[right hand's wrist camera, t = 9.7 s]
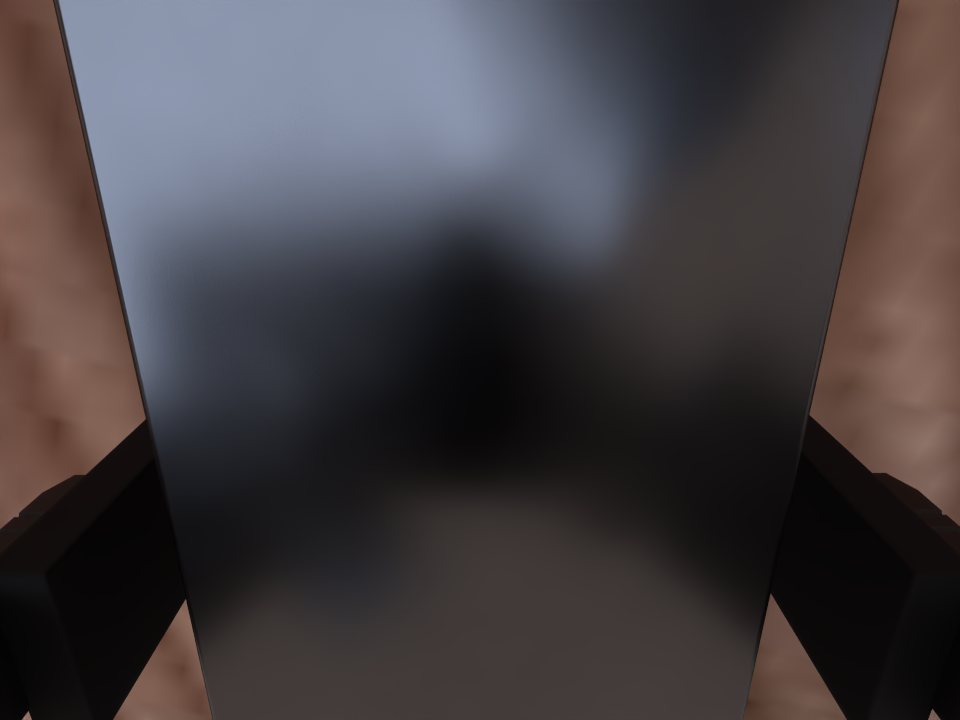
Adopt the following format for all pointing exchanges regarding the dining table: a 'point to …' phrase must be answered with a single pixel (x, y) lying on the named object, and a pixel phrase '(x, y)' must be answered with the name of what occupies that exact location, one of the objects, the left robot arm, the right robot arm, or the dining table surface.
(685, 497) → the bar
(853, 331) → the dining table surface
